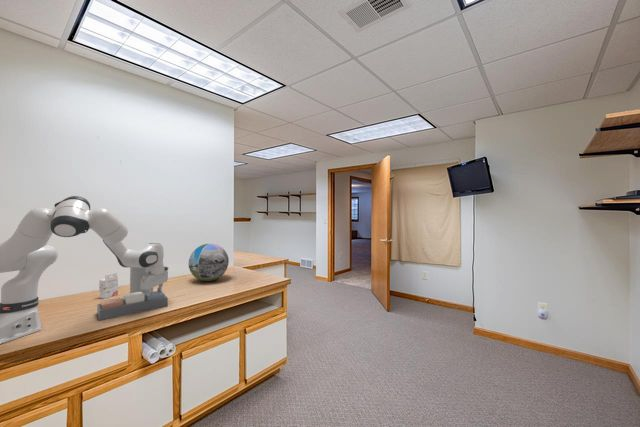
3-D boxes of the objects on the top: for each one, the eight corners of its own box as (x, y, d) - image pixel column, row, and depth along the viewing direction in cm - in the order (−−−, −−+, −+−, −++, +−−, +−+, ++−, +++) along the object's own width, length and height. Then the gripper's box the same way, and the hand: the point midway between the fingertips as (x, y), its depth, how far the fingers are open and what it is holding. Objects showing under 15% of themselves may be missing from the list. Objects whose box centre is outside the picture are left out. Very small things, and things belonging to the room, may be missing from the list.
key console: (99, 320, 133) (99, 310, 133) (97, 313, 143) (97, 304, 143) (167, 306, 155) (167, 297, 155) (161, 300, 164) (161, 292, 164)
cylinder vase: (157, 296, 173) (157, 258, 173) (136, 301, 162) (136, 261, 162) (147, 292, 179) (147, 256, 179) (126, 297, 169) (126, 259, 169)
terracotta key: (101, 312, 136) (101, 305, 136) (100, 308, 142) (100, 301, 142) (122, 308, 142) (122, 301, 142) (119, 304, 148) (119, 297, 148)
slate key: (147, 303, 150) (147, 296, 150) (144, 300, 156) (144, 293, 156) (164, 300, 156) (164, 293, 156) (160, 296, 162) (160, 290, 162)
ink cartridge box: (111, 294, 176) (112, 272, 176) (118, 294, 175) (118, 272, 175) (98, 298, 168) (99, 275, 168) (105, 298, 167) (105, 275, 167)
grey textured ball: (207, 275, 232) (207, 241, 232) (236, 277, 223) (236, 242, 223) (179, 283, 204) (179, 245, 204) (211, 287, 194) (211, 246, 194)
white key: (125, 305, 143) (126, 297, 143) (123, 301, 149) (123, 294, 149) (144, 301, 149) (144, 294, 149) (141, 298, 155) (141, 291, 155)
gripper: (148, 274, 145) (148, 299, 145) (170, 266, 166) (169, 288, 166) (137, 274, 145) (136, 299, 145) (160, 266, 166) (160, 288, 166)
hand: (154, 293), depth 156 cm, fingers open, 8 cm apart
